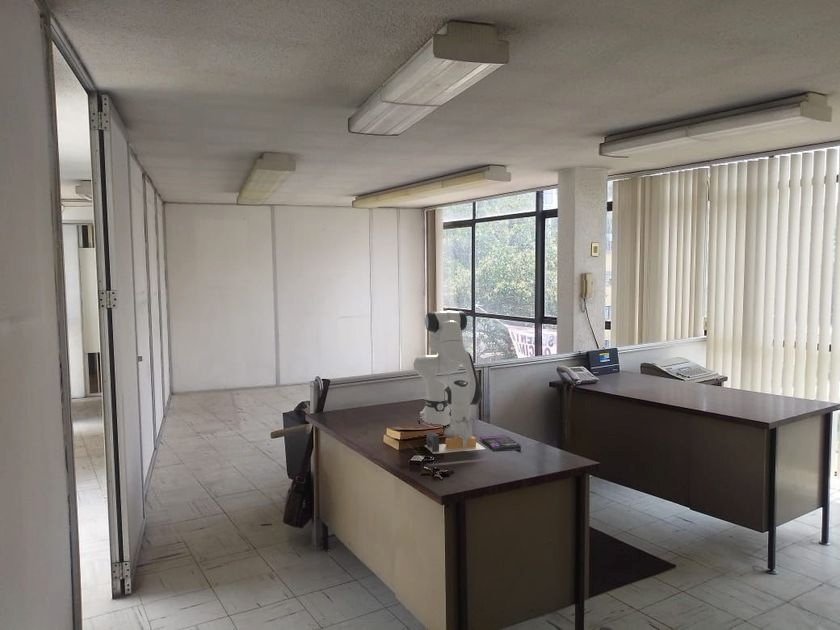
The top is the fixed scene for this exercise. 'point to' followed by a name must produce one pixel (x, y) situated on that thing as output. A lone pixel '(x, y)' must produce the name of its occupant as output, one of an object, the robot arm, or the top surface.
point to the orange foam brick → (459, 442)
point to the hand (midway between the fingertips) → (460, 443)
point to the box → (500, 443)
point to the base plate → (445, 450)
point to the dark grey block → (433, 440)
